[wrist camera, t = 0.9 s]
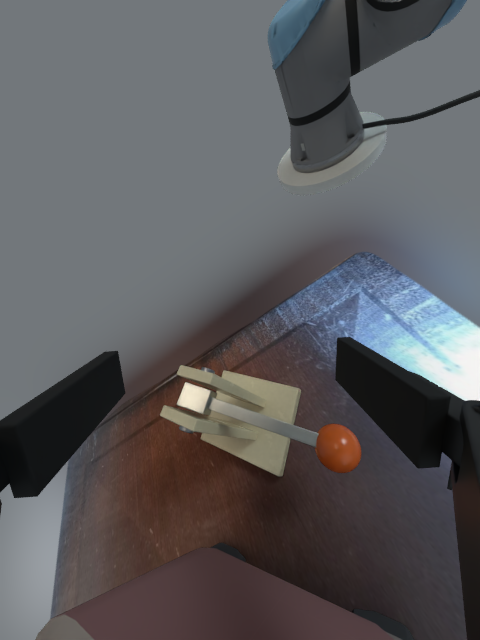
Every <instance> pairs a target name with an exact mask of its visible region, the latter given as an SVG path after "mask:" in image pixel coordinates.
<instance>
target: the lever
mask: <svg viewBox="0 0 480 640" xmlns="http://www.w3.org/2000/svg"><path fill="white" fill-rule="evenodd" d="M216 396H217V393H215V392H213V391H211V390H209V389H206V388H203V387H200V386H196V385H193V384H190V383H187V382H185V384H184V387H183V389H182V392H181V394H180V397H179V399H178V402H177V405H178V406H181V407H184V408H186V409H189V410H192V411H195V412H197V413H200V414H203V415H210V414H211V411H215V412H218V413H220V414H223V415H226V416H229V417H232V418H234V419H237V420H240V421H243V422H246V423H248V424H251V425H254V426H257V427H260V428H262V429H265V430H268V431H271V432H274V433H276V434H279V435H282V436H285V437H288V438H290V439H293V440H296V441H299V442H302V443H304V444H307V445H310V446H313V447H315V452H316V454H317V457H318V458H319V460H320V461H321V463H322V464H323V465H324V466H325V467H327V468H328V469H330V470H331V471H334V472H337V473H347V472H350V471H352V470H354V469H355V468H356V467H357V466H358V464H359V462H360V459H361V446H360V443H359V441H358V439H357V437H356V436H355V435H354V433H353V432H352V431H351V430H349V429H348V428H346V427H345V426H342V425H339V424H328V425H325V426H323V427H322V428H321V429H320V430H319V431H318V432H317V433H315V432H312V431H310V430H307V429H304V428H301V427H298V426H295V425H292V424H289V423H286V422H283V421H280V420H277V419H274V418H271V417H268V416H265V415H263V414H260V413H257V412H254V411H251V410H248V409H245V408H242V407H239V406H236V405H233V404H230V403H227V402H224V401H221V400H218V399H216Z"/></svg>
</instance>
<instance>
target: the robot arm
mask: <svg viewBox="0 0 480 640" xmlns="http://www.w3.org/2000/svg"><path fill="white" fill-rule="evenodd" d="M466 1H467V0H287V2H286V3H285V4H284V5H283V6H282V8H281V9H280V10H279V12H278V13H277V14H276V16H275V17H274V19H273V21H272V22H271V25H270V27H269V31H268V44H269V49H270V53H271V57H272V62H273V69H274V70H275V73H276V76H277V80H278V83H279V87H280V90H281V94H282V97H283V101H284V105H285V108H286V112H287V115H288V119H289V122H290V127H291V155H290V158H291V161H292V165H293V167H294V169H295V170H296V171H298V172H301V173H314V172H318V171H322V170H325V169H327V168H330V167H332V166H334V165H336V164H338V163H340V162H341V161H343V160H344V159H346V158H347V157H348V156H350V155H351V154H352V153H353V152H354V151H355V150H356V149H357V148H358V147H359V146H360V144H361V143H362V141H363V139H364V134H365V133H364V129H366V128H372V127H378V126H383V125H389V124H398V123H405V122H410V121H414V120H418V119H421V118H424V117H427V116H430V115H433V114H436V113H438V112H441V111H443V110H445V109H448V108H451V107H453V106H456V105H458V104H461V103H464V102H466V101H469V100H472V99H474V98H477V97H480V90H479V91H476V92H474V93H471V94H469V95H466V96H463V97H461V98H458V99H456V100H453V101H451V102H448V103H446V104H443V105H441V106H438V107H436V108H433V109H431V110H428V111H425V112H422V113H418V114H415V115H411V116H407V117H401V118H393V119H386V120H380V121H375V122H370V123H364V121H363V119H362V117H361V115H360V113H359V111H358V108H357V106H356V104H355V101H354V99H353V97H352V95H351V90H350V77H351V76H353V75H355V74H357V73H358V72H360V71H362V70H364V69H366V68H368V67H370V66H371V65H373V64H375V63H377V62H379V61H380V60H383V59H385V58H386V57H388V56H390V55H392V54H394V53H395V52H397V51H399V50H401V49H403V48H405V47H407V46H409V45H411V44H412V43H414V42H416V41H420V40H423V39H425V38H427V37H429V36H430V35H431V34H432V33H434V31H436V30H437V29H439V28H441V27H443V26H444V25H446V24H447V23H449V22H450V21H451V20H452V19H453V18H454V17H455V16H456V15H457V14H458V13H459V12H460V10H461V9H462V7H463V6H464V4H465V3H466ZM336 381H337V382H338V383H339V384H340V385H341V386H342V387H343V388H344V389H345V390H346V392H347V393H348V394H349V395H350V396H351V397H352V398H353V399H354V400H355V401H356V402H357V403H358V404H359V406H360V407H361V408H362V409H363V410H364V411H365V412H366V413H367V414H368V415H369V416H370V417H371V418H372V420H373V421H374V422H375V423H376V424H377V425H378V426H379V427H380V428H381V429H382V430H383V431H384V432H385V433H386V435H387V436H388V437H389V438H390V439H391V440H392V441H393V442H394V443H395V444H396V445H397V446H398V447H399V449H400V450H401V451H402V452H403V453H404V454H405V455H406V456H407V457H408V458H409V459H410V460H411V461H412V463H413V464H414V465H415V466H416V467H417V468H431V467H439V466H440V460H441V454H442V452H443V453H444V454H446V455H447V456H448V457H449V458H450V459H451V460H452V464H451V470H450V476H449V481H448V487H447V489H450V490H453V500H454V510H455V521H456V531H457V541H458V551H459V561H460V571H461V581H462V591H463V601H464V611H465V622H466V632H467V640H480V401H477V400H468V401H464V400H462V399H461V398H459V397H457V396H455V395H453V394H452V393H450V392H448V391H446V390H445V389H443V388H441V387H438V385H436V384H434V383H432V382H430V381H429V380H427V379H425V378H424V377H422V376H420V375H418V374H415V373H412V372H410V371H407V370H405V369H404V368H402V367H400V366H399V365H397V364H395V363H393V362H392V361H390V360H388V359H387V358H385V357H383V356H381V355H380V354H378V353H376V352H375V351H373V350H371V349H369V348H368V347H366V346H364V345H363V344H361V343H359V342H357V341H356V340H354V339H352V338H351V337H343V338H337V357H336ZM124 394H125V389H124V383H123V378H122V372H121V366H120V361H119V355H118V351H111V352H104V353H103V354H101V355H99V356H98V357H96V358H95V359H93V360H92V361H90V362H89V363H87V364H86V365H84V366H83V367H81V368H79V369H78V370H76V371H75V372H73V373H72V374H70V375H69V376H67V377H66V378H64V379H63V380H61V381H60V382H58V383H57V384H55V385H54V386H52V387H51V388H49V389H48V390H46V391H45V392H43V393H41V394H40V395H38V396H37V397H35V398H34V399H32V400H31V401H30V402H28V403H26V404H25V405H23V406H22V407H20V408H19V409H17V410H16V411H14V412H12V413H11V414H9V415H8V416H7V417H5V418H4V419H2V420H1V421H0V492H1V491H2V490H3V489H4V488H5V487H6V486H7V485H8V484H9V483H10V486H11V490H12V492H13V496H14V498H21V497H33V496H38V495H39V494H40V492H41V491H42V490H43V489H44V488H45V487H46V485H47V484H48V483H49V482H50V481H51V479H52V478H53V477H54V476H55V475H56V474H57V473H58V471H59V470H60V469H61V468H62V467H63V466H64V464H65V463H66V462H67V461H68V460H69V459H70V457H71V456H72V455H73V454H74V453H75V452H76V450H77V449H78V448H79V447H80V446H81V445H82V443H83V442H84V441H85V440H86V439H87V438H88V436H89V435H90V434H91V433H92V432H93V431H94V429H95V428H96V427H97V426H98V425H99V423H100V422H101V421H102V420H103V419H104V418H105V416H106V415H107V414H108V413H109V412H110V411H111V409H112V408H113V407H114V406H115V405H116V404H117V402H118V401H119V400H120V399H121V398H122V397H123V395H124ZM1 505H2V503H1V500H0V513H1Z"/></svg>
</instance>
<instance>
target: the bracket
mask: <svg viewBox="0 0 480 640" xmlns="http://www.w3.org/2000/svg"><path fill="white" fill-rule="evenodd" d="M214 373H215V371H213V370H211V369H208V368H205V367H202V369H201V370H198V369H194V368H190V367H186V366H182V365H180V367H179V370H178V372H177V375H179V376H181V377H184V378H186V379H189V380H191V381H194V382H196V383H199V384H201V385H203V386H206V387H208V388H211V389H213V390H216V391H217V392H216V393H217V396H216V399H218V400H221V401H224V402H227V403H230V404H233V405H236V406H239V407H242V408H245V409H248V410H251V411H254V412H257V413H260V414H263V415H265V416H268V417H271V418H274V419H277V420H280V421H283V422H286V423H289V424H292V425H294V421H295V417H296V412H297V408H298V403H299V398H300V394H301V390H300V389H299V388H295V387H291V386H287V385H283V384H279V383H275V382H270V381H266V380H262V379H258V378H254V377H250V376H245V375H241V374H237V373H233V372H229V371H225V370H224V371H223V374H222V377H219V376H217V375H215V374H214ZM160 416H161V417H163V418H165V419H168V420H170V421H172V422H174V423H176V424H178V425H180V427H179V429H180V430H182V431H184V432H187V433H193V432H201V433H202V436H201V439H202V440H204V441H206V442H208V443H210V444H212V445H214V446H216V447H218V448H220V449H222V450H225V451H227V452H229V453H231V454H233V455H235V456H237V457H239V458H241V459H243V460H245V461H247V462H249V463H252V464H254V465H256V466H258V467H260V468H262V469H264V470H266V471H268V472H270V473H272V474H274V475H276V476H278V477H281V476H283V472H284V468H285V463H286V458H287V454H288V449H289V445H290V440H291V439H290V438H288V437H285V436H282V435H279V434H276V433H274V432H271V431H268V430H265V429H262V428H260V427H257V426H254V425H251V424H248V423H246V422H243V421H240V420H237V419H234V418H232V417H229V416H226V415H223V414H220V413H218V412H215V411H211V414H210V415H208V416H206V415H202V414H198V413H194V412H190V411H186V410H182V409H178V408H174V407H169V406H164V407H163V409H162V412H161V414H160Z"/></svg>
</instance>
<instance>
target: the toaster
mask: <svg viewBox="0 0 480 640" xmlns="http://www.w3.org/2000/svg"><path fill="white" fill-rule="evenodd" d="M36 640H414V639H413V637H412V635H411V633H410V631H409V630H408V629H407V628H406V626H404V625H403V624H401V623H400V622H397V621H395V620H393V619H391V618H388V617H386V616H384V615H382V614H380V613H377V612H375V611H367V610H361V609H354V610H353V612H350V611H348V610H346V609H343V608H341V607H339V606H337V605H335V604H333V603H331V602H329V601H326V600H324V599H322V598H320V597H318V596H316V595H314V594H312V593H310V592H307V591H305V590H303V589H301V588H299V587H297V586H295V585H293V584H290V583H288V582H286V581H284V580H282V579H280V578H278V577H276V576H274V575H271V574H269V573H267V572H265V571H263V570H261V569H259V568H257V567H254V566H252V565H250V564H248V563H246V560H245V557H244V556H242V555H241V553H240V552H239V551H238V550H237V549H235V548H233V547H231V546H229V545H226V544H224V543H219V544H217V545H215V546H213V547H211V548H203V547H202V548H199V549H196V550H193V551H191V552H189V553H187V554H185V555H183V556H181V557H179V558H177V559H174V560H172V561H170V562H168V563H166V564H164V565H162V566H160V567H158V568H156V569H154V570H152V571H150V572H147V573H145V574H143V575H141V576H139V577H137V578H135V579H133V580H131V581H129V582H127V583H125V584H123V585H120V586H118V587H116V588H114V589H112V590H110V591H108V592H106V593H104V594H102V595H100V596H98V597H96V598H93V599H91V600H89V601H87V602H85V603H83V604H81V605H79V606H77V607H75V608H73V609H71V610H68V611H66V612H64V613H62V614H60V615H58V616H56V617H54V618H52V619H50V621H49V622H48V623H47V624H46V625H45V626H44V628H43V629H42V630H41V631H40V632H39V633H38V635H37V637H36Z"/></svg>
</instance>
